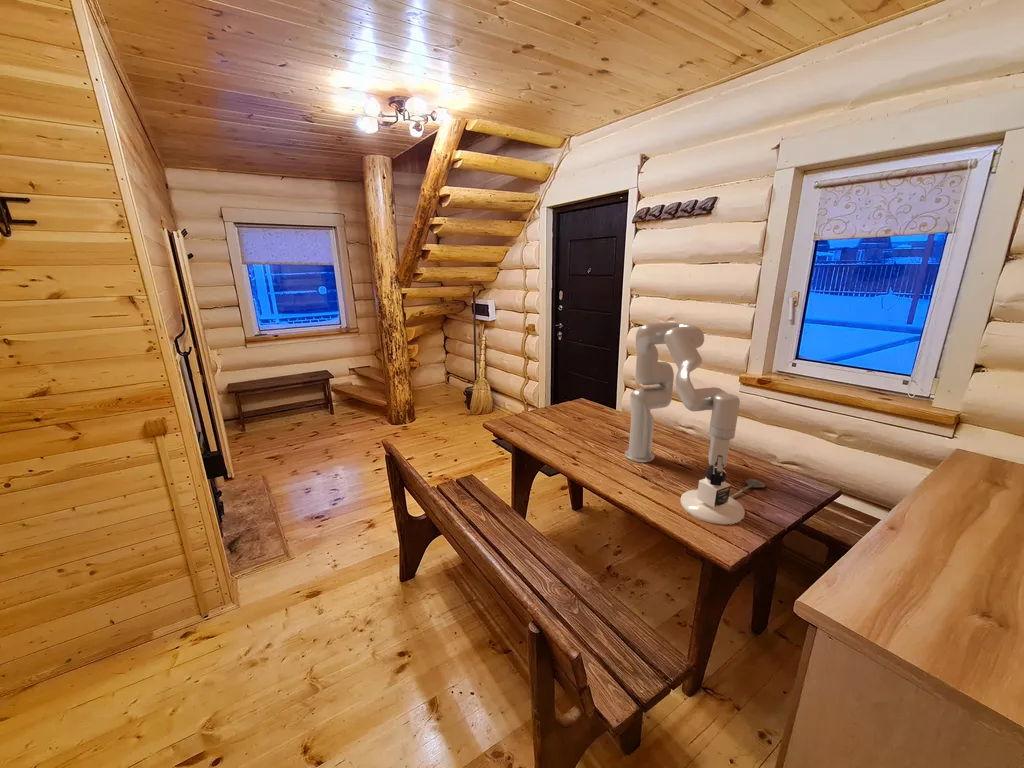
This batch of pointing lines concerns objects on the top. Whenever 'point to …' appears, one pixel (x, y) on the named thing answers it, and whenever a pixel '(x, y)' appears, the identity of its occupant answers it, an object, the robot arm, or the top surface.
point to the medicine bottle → (713, 490)
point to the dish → (712, 509)
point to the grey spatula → (750, 485)
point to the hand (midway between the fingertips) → (715, 479)
